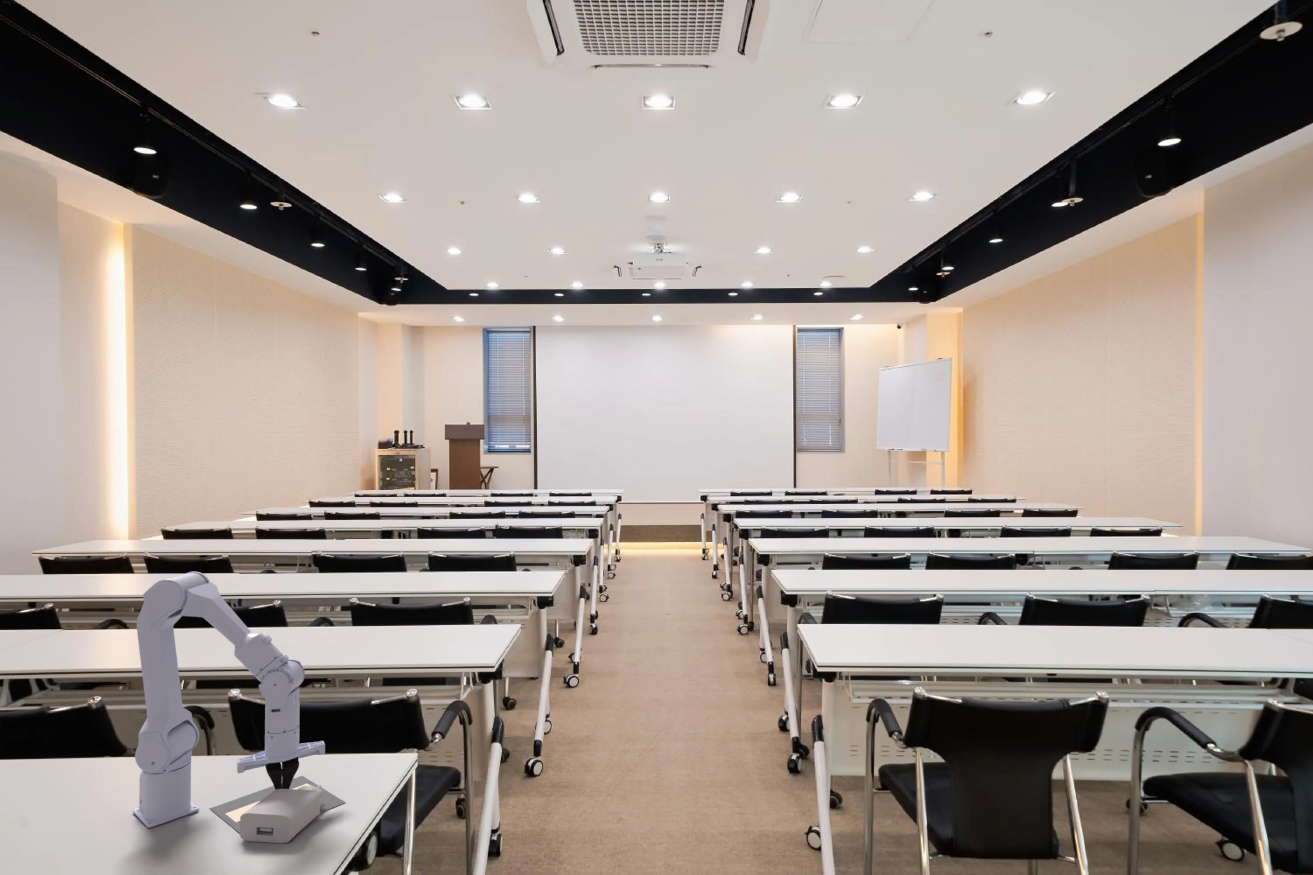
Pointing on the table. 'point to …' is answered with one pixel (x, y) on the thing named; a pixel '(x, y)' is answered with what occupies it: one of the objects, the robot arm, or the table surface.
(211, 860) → the table surface
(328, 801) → the label mat
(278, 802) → the charger
